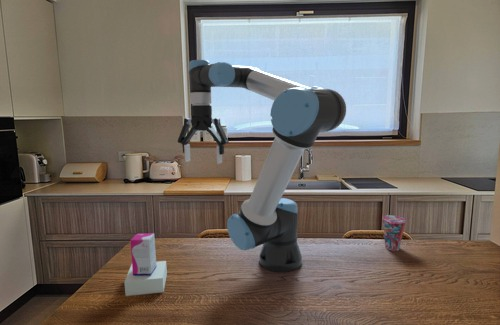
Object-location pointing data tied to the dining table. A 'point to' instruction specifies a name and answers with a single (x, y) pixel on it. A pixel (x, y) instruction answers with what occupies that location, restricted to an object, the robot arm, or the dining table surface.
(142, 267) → the supplement box
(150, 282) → the base block
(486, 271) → the dining table surface
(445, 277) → the dining table surface
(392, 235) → the cup
